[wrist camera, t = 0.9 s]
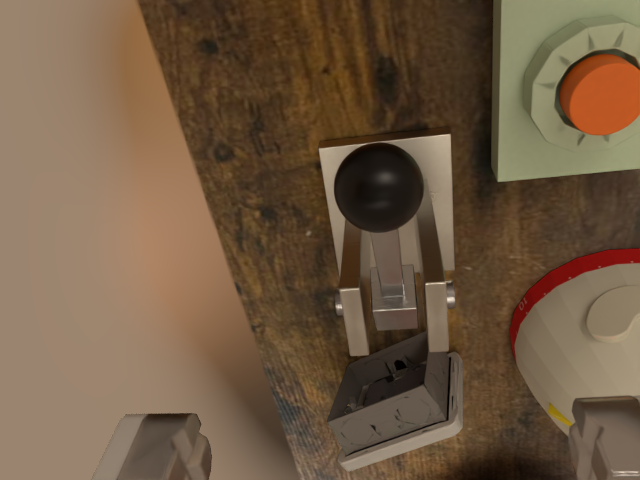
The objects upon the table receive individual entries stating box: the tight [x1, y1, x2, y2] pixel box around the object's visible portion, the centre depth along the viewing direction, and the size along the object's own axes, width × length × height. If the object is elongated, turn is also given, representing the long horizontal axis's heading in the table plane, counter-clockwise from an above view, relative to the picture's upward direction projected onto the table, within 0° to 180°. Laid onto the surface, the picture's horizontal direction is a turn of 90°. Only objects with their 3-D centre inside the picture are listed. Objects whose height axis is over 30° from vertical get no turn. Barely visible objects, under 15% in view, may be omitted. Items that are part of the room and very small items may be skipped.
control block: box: [491, 0, 640, 182], centre depth 29 cm, size 11×9×4 cm
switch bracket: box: [318, 127, 456, 356], centre depth 31 cm, size 10×8×12 cm
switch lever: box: [334, 142, 424, 331], centre depth 24 cm, size 13×3×3 cm, turn 9°
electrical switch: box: [327, 331, 463, 472], centre depth 40 cm, size 9×5×9 cm, turn 125°
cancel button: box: [559, 54, 640, 135], centre depth 27 cm, size 4×4×2 cm
